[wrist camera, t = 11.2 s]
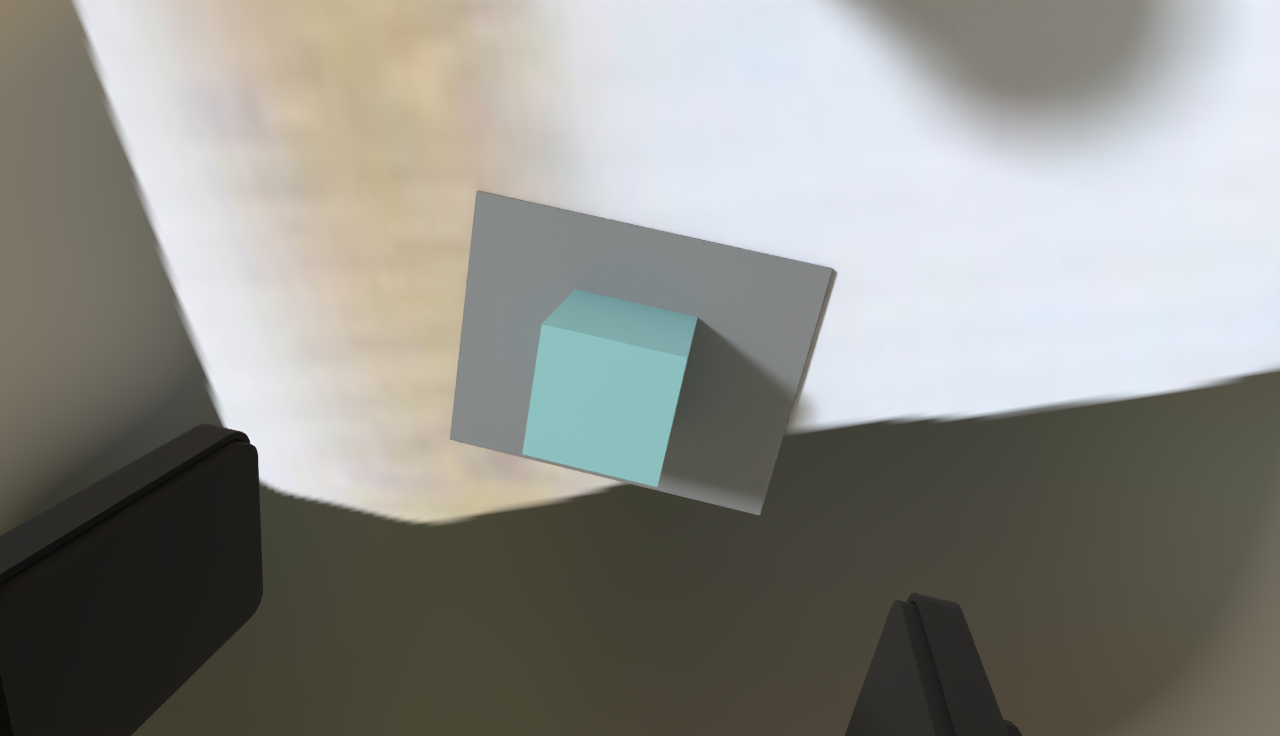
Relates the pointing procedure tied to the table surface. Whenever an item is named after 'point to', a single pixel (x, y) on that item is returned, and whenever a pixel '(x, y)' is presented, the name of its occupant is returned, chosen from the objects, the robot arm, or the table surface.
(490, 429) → the slate mat
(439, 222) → the table surface
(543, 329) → the teal block
